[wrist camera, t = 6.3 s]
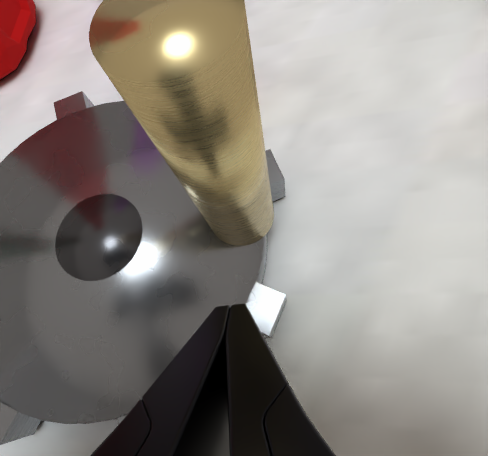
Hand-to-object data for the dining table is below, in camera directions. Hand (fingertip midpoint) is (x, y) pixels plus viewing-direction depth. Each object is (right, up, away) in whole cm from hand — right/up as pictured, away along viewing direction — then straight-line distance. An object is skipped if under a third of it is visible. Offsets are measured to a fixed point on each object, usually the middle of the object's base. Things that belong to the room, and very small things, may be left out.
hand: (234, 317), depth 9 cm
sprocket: (-6, +1, +9) cm, 11 cm away
